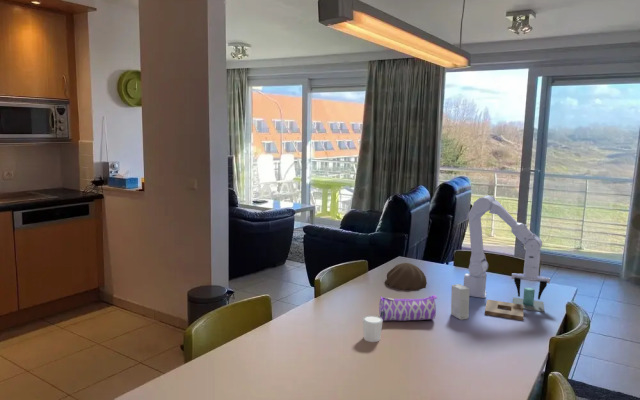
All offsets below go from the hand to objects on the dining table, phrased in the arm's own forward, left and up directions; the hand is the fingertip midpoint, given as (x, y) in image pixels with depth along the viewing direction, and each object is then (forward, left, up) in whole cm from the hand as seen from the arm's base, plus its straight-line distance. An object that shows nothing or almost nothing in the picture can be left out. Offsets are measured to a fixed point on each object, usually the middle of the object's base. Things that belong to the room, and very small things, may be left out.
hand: (528, 297), depth 197 cm
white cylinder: (-50, -60, -4) cm, 78 cm away
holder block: (-9, -12, -3) cm, 15 cm away
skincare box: (-25, -26, -4) cm, 36 cm away
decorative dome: (-53, +5, -4) cm, 53 cm away
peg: (0, 0, -3) cm, 3 cm away
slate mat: (0, 0, -3) cm, 3 cm away
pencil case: (-43, -37, -4) cm, 57 cm away
